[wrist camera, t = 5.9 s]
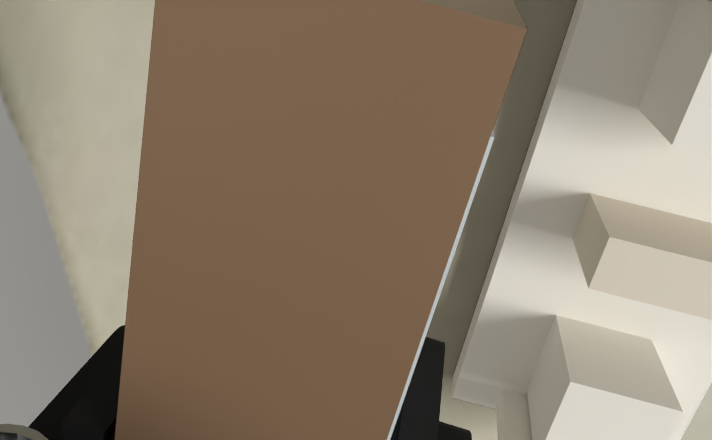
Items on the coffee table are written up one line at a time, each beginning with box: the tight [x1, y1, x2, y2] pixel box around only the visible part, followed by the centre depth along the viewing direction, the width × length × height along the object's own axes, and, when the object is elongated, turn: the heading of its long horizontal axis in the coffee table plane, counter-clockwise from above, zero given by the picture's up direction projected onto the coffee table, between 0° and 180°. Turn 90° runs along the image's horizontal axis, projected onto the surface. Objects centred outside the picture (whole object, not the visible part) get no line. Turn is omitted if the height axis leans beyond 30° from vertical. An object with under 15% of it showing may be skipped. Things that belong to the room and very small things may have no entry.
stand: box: [452, 0, 712, 440], centre depth 23 cm, size 20×10×8 cm, turn 168°
